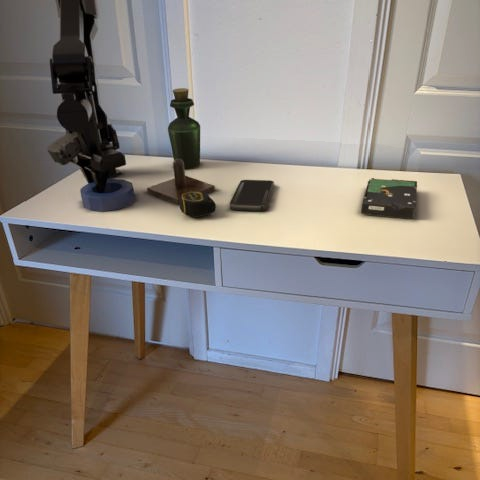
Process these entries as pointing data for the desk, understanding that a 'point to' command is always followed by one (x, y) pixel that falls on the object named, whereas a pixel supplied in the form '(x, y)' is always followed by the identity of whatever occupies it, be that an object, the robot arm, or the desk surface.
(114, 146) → the robot arm
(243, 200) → the phone
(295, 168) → the desk surface
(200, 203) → the tape measure
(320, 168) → the desk surface
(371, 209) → the disk drive
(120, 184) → the ring
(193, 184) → the post
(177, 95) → the potion bottle
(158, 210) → the desk surface
